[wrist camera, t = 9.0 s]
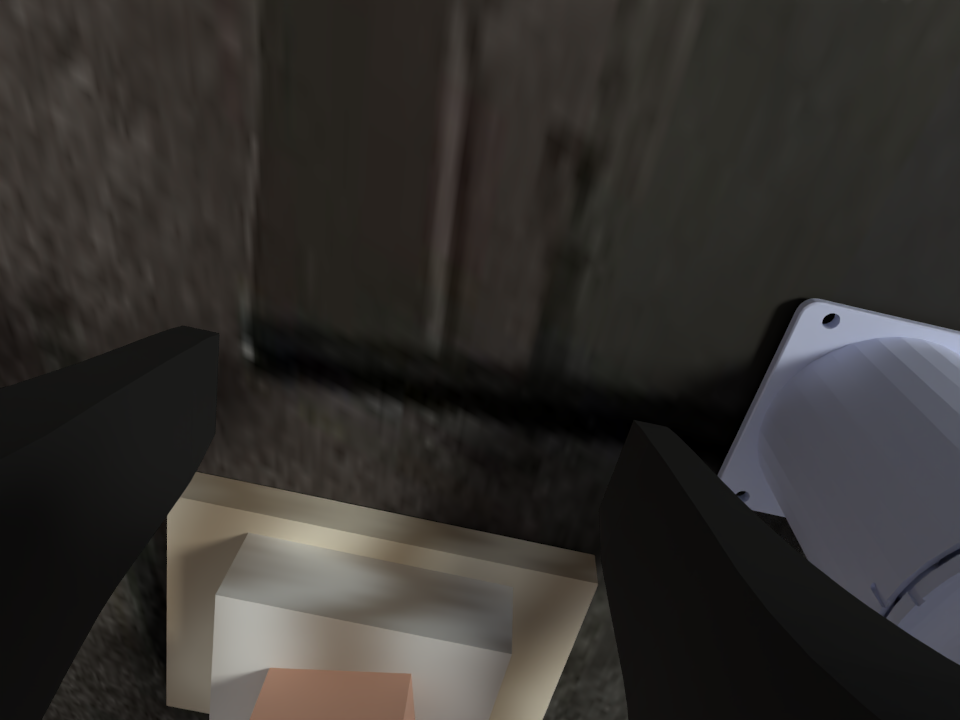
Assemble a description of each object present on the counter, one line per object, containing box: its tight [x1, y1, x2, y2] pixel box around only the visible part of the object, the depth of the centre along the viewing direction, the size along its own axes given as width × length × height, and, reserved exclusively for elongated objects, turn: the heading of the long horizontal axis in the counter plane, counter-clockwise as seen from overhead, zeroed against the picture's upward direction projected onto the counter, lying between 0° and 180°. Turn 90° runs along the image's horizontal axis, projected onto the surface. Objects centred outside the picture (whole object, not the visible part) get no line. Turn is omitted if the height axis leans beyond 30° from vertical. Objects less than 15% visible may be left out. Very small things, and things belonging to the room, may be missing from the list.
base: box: [167, 472, 598, 720], centre depth 27 cm, size 16×12×4 cm
